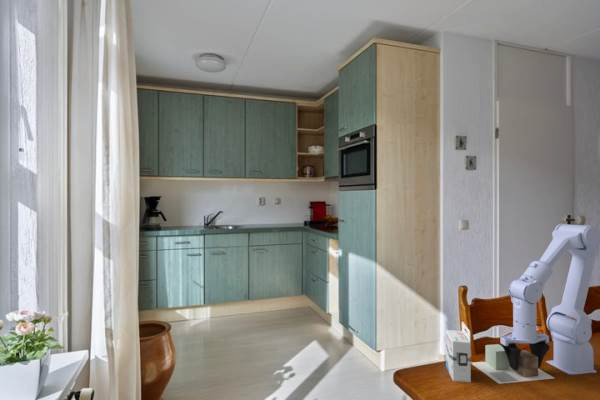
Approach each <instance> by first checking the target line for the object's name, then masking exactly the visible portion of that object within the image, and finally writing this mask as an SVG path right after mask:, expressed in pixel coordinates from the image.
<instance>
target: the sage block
mask: <svg viewBox="0 0 600 400" xmlns="http://www.w3.org/2000/svg"><path fill="white" fill-rule="evenodd" d="M484 348H485V354H484V355H485V357H484V358H485V359H484V360H485V361H486V363H487V364H488V365H490V366H491V367H493V368H494V369H496V370H501V369H509V361H508V357H507V355H506V352H505V350H504V348H503V347H502V345H501V344H498V343H496V344H486V345H485V347H484ZM485 361H484V362H485Z"/></svg>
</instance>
